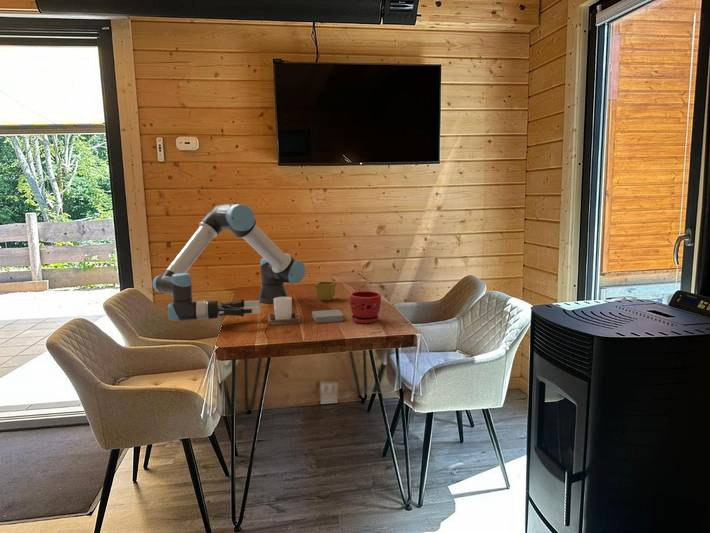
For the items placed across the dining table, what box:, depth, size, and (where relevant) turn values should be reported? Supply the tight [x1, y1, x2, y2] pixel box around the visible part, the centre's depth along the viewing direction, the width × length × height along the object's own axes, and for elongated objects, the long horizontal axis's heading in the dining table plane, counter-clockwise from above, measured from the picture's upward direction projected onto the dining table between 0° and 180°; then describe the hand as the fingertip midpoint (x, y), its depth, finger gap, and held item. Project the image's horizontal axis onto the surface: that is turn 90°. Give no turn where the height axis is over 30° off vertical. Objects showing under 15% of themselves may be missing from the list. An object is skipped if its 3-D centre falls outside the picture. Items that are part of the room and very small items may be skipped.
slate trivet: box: [311, 309, 345, 324], centre depth 210 cm, size 12×12×2 cm
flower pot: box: [315, 281, 337, 301], centre depth 252 cm, size 9×9×9 cm
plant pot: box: [349, 290, 382, 324], centre depth 204 cm, size 13×13×12 cm
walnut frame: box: [267, 311, 301, 327], centre depth 208 cm, size 13×13×2 cm
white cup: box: [273, 296, 293, 320], centre depth 207 cm, size 8×8×10 cm
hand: (259, 306), depth 205 cm, fingers open, 13 cm apart
